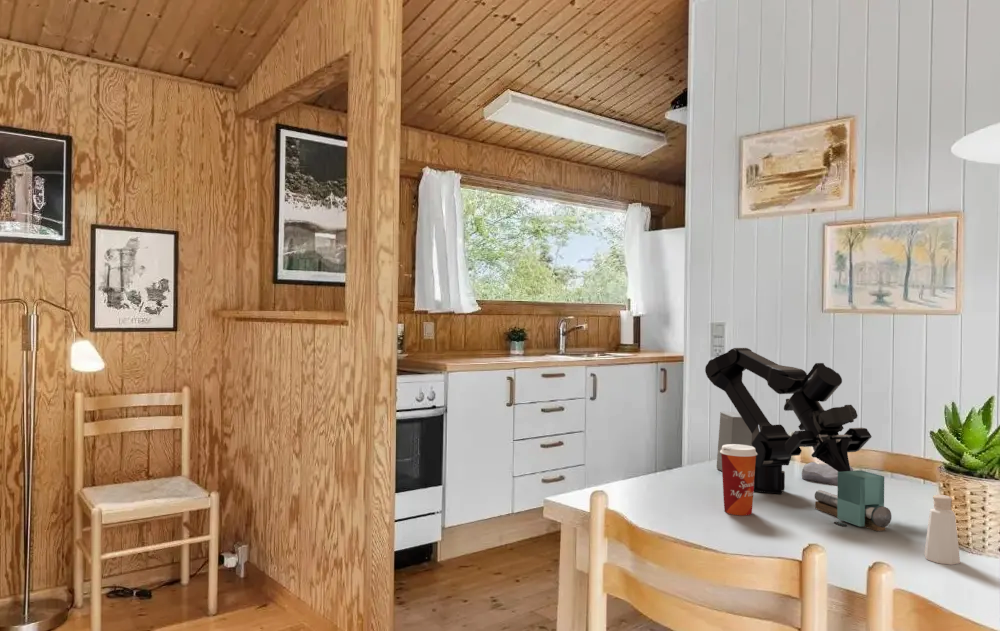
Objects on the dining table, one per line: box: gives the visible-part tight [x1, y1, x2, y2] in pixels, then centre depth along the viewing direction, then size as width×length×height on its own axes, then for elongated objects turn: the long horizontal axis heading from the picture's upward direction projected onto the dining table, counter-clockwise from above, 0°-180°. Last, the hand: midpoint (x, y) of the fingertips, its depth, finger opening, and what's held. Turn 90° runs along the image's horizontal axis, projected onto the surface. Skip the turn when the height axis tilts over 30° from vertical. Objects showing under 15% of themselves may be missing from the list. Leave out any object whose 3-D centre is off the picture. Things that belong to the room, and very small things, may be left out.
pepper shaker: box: [923, 494, 961, 566], centre depth 124 cm, size 5×5×11 cm
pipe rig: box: [814, 489, 892, 532], centre depth 149 cm, size 18×11×5 cm, turn 17°
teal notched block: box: [836, 469, 885, 527], centre depth 146 cm, size 6×6×10 cm
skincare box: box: [716, 411, 753, 472], centre depth 193 cm, size 8×7×16 cm
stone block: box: [801, 461, 854, 486], centre depth 185 cm, size 12×5×10 cm
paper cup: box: [720, 444, 757, 517], centre depth 154 cm, size 8×8×14 cm
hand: (848, 475), depth 149 cm, fingers closed, pressing on teal notched block
